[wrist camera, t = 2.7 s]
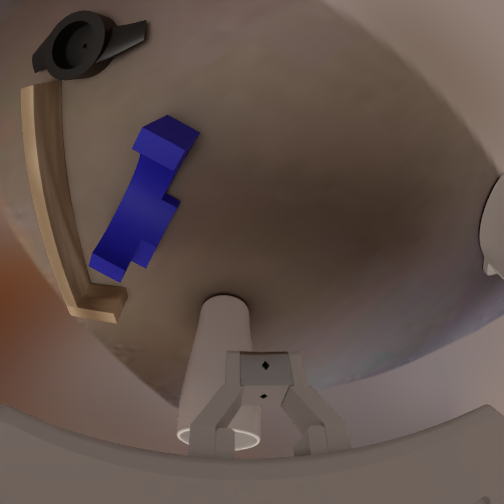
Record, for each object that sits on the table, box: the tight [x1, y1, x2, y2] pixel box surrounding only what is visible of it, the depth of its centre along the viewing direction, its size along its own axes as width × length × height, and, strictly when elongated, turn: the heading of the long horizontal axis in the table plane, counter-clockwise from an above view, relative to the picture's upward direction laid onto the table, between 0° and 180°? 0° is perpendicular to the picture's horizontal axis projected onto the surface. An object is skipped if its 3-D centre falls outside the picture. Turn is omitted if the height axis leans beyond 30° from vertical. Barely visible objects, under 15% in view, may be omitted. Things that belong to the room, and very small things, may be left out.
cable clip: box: [89, 115, 200, 282], centre depth 20 cm, size 12×4×6 cm, turn 146°
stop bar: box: [21, 81, 127, 323], centre depth 21 cm, size 6×24×4 cm, turn 174°
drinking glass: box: [177, 295, 261, 450], centre depth 24 cm, size 7×7×15 cm
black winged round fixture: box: [32, 11, 146, 80], centre depth 14 cm, size 8×10×3 cm
